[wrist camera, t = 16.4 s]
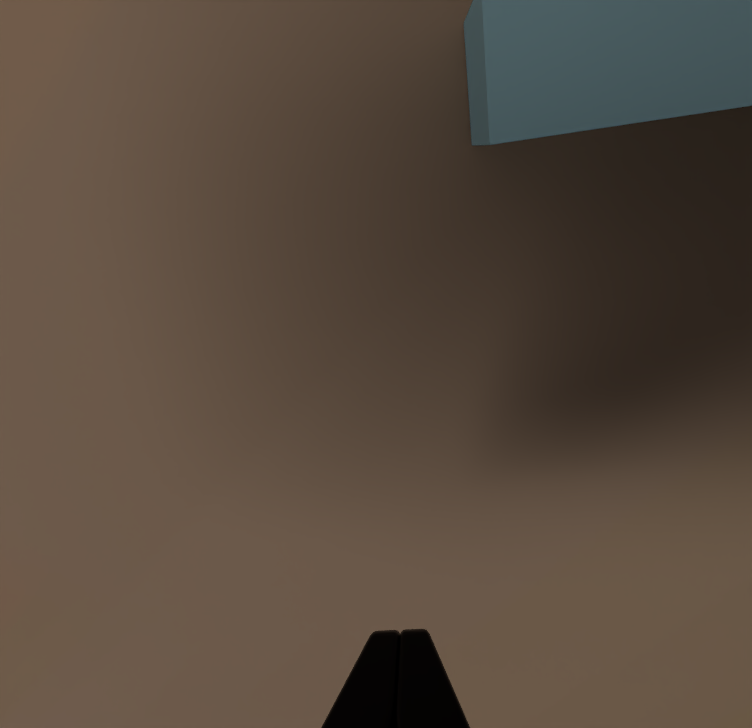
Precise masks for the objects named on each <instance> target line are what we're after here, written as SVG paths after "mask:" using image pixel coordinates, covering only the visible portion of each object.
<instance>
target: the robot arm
mask: <svg viewBox="0 0 752 728" xmlns="http://www.w3.org/2000/svg"><path fill="white" fill-rule="evenodd" d="M321 728H470V727H469V724H468V722H467V720H466V717H465V715H464V713H463V710H462V708H461V706H460V703H459V701H458V699H457V697H456V694H455V692H454V690H453V687H452V685H451V683H450V680H449V678H448V676H447V673H446V671H445V669H444V666H443V664H442V662H441V659H440V657H439V655H438V653H437V650H436V648H435V646H434V643H433V641H432V639H431V636H430V634H429V632H428V631H427V630H425V629H408V630H403V631H402V632H401V634H400V633H399V632H398V631H396V630H385V631H375V632H373V633H372V634H371V635H370V637H369V639H368V641H367V643H366V645H365V646H364V648H363V650H362V652H361V654H360V656H359V658H358V660H357V661H356V663H355V665H354V667H353V669H352V671H351V673H350V675H349V677H348V678H347V680H346V682H345V684H344V686H343V688H342V690H341V692H340V694H339V695H338V697H337V699H336V701H335V703H334V705H333V707H332V709H331V710H330V712H329V714H328V716H327V718H326V720H325V722H324V724H323V726H322V727H321Z"/></svg>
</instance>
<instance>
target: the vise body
mask: <svg viewBox="0 0 752 728" xmlns="http://www.w3.org/2000/svg"><path fill="white" fill-rule="evenodd" d="M464 35H465V50H466V65H467V81H468V96H469V111H470V126H471V141H472V145H493V144H499V143H506V142H513V141H519V140H526V139H533V138H539V137H546V136H553V135H559V134H566V133H573V132H579V131H586V130H593V129H599V128H606V127H613V126H619V125H626V124H633V123H639V122H646V121H653V120H659V119H666V118H673V117H679V116H686V115H692V114H699V113H706V112H712V111H719V110H726V109H732V108H739V107H746V106H752V0H473V2H472V4H471V7H470V9H469V11H468V14H467V16H466V19H465V21H464Z"/></svg>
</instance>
